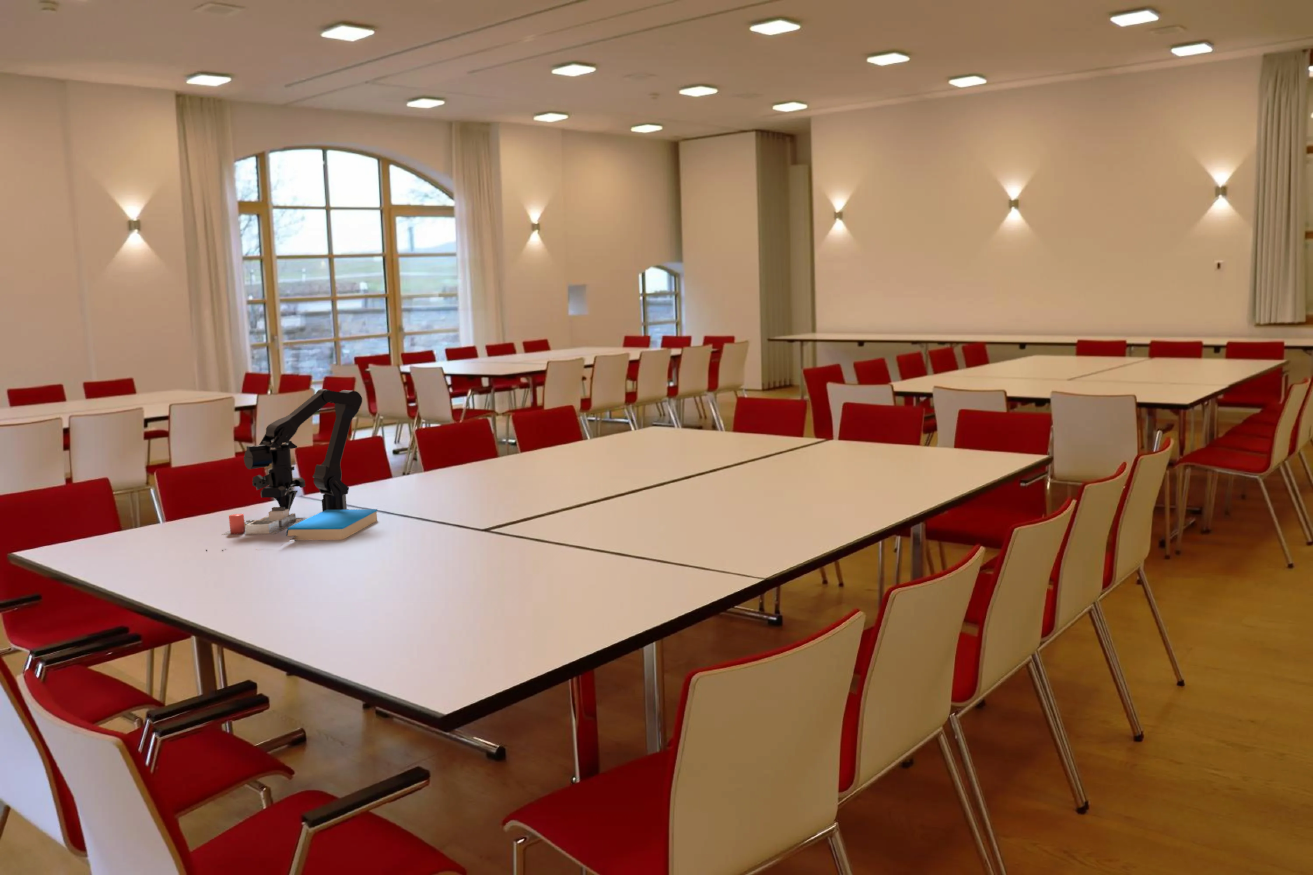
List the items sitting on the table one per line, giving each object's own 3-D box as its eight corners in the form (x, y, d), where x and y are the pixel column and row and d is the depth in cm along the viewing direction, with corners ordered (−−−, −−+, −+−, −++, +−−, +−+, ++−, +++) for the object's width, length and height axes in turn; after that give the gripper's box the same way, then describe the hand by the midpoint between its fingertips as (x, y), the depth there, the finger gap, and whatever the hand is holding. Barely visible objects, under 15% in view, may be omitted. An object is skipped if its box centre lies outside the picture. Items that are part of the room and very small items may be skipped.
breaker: (289, 520, 325) (288, 505, 324) (284, 523, 321) (282, 508, 320) (275, 520, 325) (273, 506, 324) (269, 523, 321) (268, 508, 320)
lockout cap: (247, 530, 313) (246, 513, 312) (241, 533, 309) (239, 516, 308) (234, 530, 313) (232, 513, 312) (227, 533, 309) (226, 516, 309)
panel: (303, 522, 327) (302, 510, 326) (275, 537, 307) (274, 525, 307) (252, 523, 328) (251, 511, 328) (221, 538, 308) (220, 526, 308)
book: (377, 509, 326) (343, 526, 301) (378, 523, 326) (344, 541, 302) (323, 509, 328) (285, 526, 303) (324, 523, 329) (286, 541, 304)
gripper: (269, 460, 335) (273, 509, 337) (241, 470, 317) (246, 522, 319) (303, 459, 334) (307, 509, 336) (278, 469, 316) (282, 521, 318)
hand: (285, 515), depth 327 cm, fingers closed
